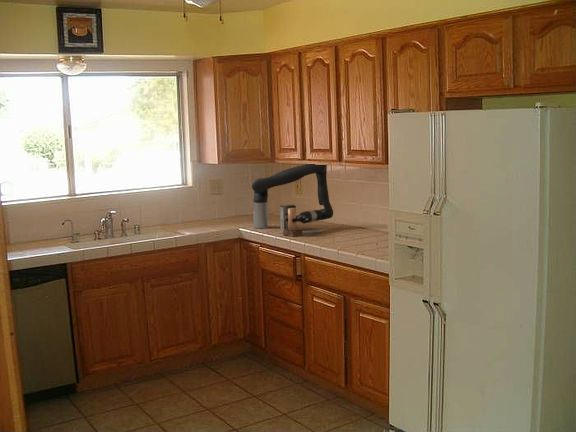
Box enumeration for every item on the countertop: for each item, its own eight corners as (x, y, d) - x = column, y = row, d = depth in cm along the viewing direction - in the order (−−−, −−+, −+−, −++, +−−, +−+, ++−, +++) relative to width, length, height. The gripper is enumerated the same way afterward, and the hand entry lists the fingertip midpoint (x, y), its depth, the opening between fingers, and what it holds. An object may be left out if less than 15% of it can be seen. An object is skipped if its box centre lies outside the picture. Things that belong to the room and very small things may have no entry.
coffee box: (293, 228, 450) (292, 204, 447) (296, 229, 444) (296, 205, 442) (280, 229, 446) (279, 205, 444) (283, 231, 440) (283, 206, 438)
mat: (300, 233, 430) (300, 232, 429) (310, 231, 436) (310, 230, 436) (311, 234, 423) (311, 233, 423) (320, 232, 429) (320, 231, 429)
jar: (286, 234, 423) (286, 208, 420) (292, 233, 426) (291, 207, 424) (292, 234, 419) (291, 209, 417) (298, 233, 423) (297, 208, 420)
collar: (283, 235, 423) (283, 230, 422) (293, 233, 428) (292, 229, 428) (293, 236, 417) (292, 232, 416) (302, 235, 423) (302, 230, 422)
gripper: (299, 210, 436) (280, 213, 424) (316, 211, 426) (297, 215, 414) (300, 221, 437) (281, 225, 425) (316, 223, 427) (297, 227, 415)
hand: (289, 220), depth 419 cm, fingers closed on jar, 5 cm apart
